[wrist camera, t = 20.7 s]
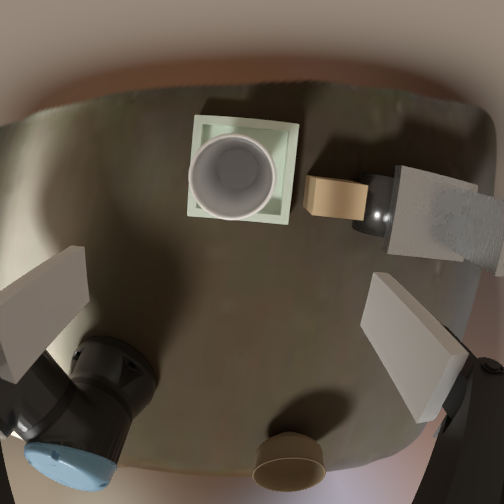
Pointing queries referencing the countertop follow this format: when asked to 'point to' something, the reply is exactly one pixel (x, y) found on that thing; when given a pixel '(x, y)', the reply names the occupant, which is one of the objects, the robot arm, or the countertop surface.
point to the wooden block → (335, 197)
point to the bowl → (289, 463)
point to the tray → (278, 145)
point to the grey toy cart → (434, 218)
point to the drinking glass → (232, 176)
